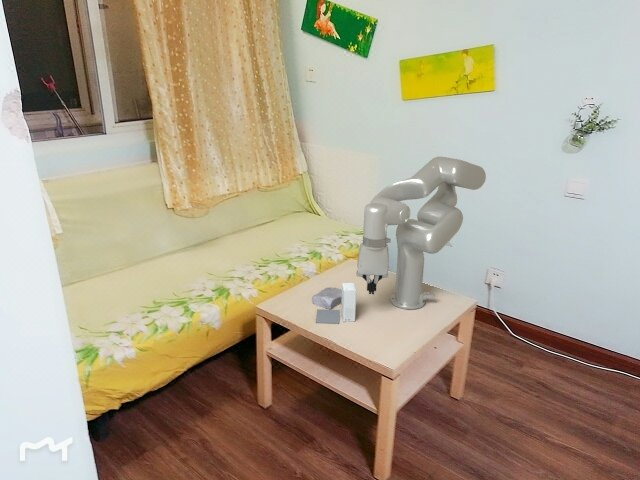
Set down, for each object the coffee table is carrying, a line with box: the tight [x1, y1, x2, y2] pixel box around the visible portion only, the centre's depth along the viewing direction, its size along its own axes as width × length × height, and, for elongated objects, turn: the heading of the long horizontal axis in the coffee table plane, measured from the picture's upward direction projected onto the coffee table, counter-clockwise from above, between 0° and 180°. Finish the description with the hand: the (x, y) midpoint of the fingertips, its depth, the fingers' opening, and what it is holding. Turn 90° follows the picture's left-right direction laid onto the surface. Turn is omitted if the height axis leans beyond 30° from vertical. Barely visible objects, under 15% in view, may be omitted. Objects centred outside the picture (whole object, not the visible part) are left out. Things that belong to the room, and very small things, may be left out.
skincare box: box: [340, 282, 357, 323], centre depth 159 cm, size 6×4×12 cm
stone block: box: [311, 286, 342, 310], centre depth 172 cm, size 12×5×10 cm
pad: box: [315, 308, 341, 325], centre depth 161 cm, size 8×9×1 cm
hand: (371, 292), depth 157 cm, fingers closed
